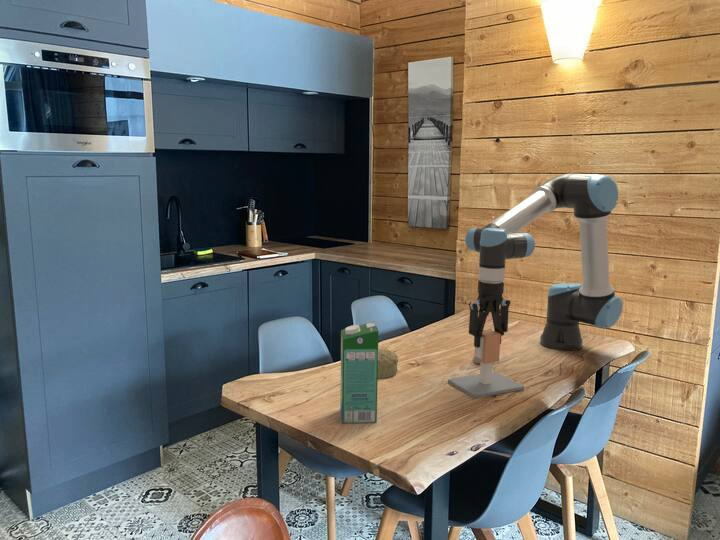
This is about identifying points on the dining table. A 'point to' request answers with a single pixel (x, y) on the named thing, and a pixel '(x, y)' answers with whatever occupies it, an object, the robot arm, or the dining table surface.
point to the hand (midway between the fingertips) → (486, 355)
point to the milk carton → (359, 373)
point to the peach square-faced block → (490, 346)
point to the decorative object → (387, 363)
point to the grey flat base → (485, 383)
